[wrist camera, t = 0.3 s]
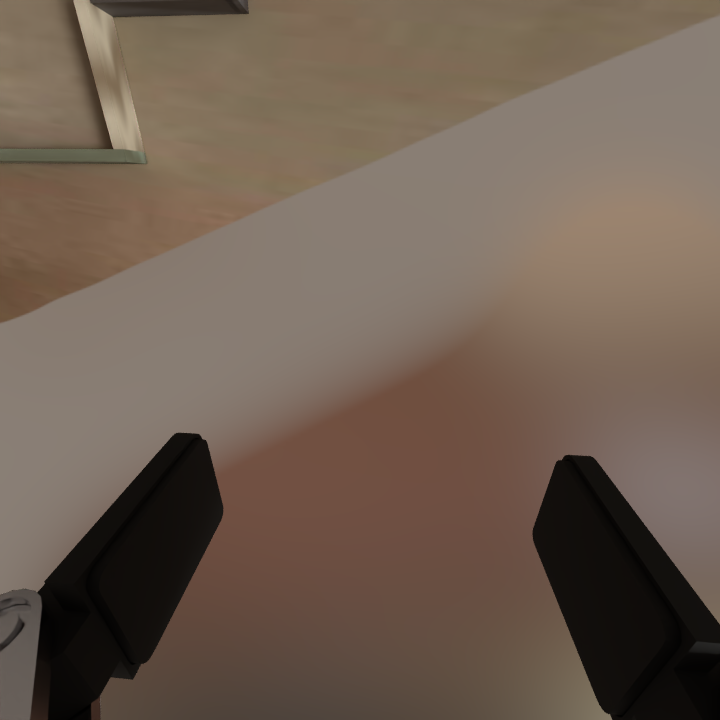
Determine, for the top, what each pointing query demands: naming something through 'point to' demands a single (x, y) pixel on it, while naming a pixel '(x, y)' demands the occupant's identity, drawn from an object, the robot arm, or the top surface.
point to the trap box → (116, 76)
